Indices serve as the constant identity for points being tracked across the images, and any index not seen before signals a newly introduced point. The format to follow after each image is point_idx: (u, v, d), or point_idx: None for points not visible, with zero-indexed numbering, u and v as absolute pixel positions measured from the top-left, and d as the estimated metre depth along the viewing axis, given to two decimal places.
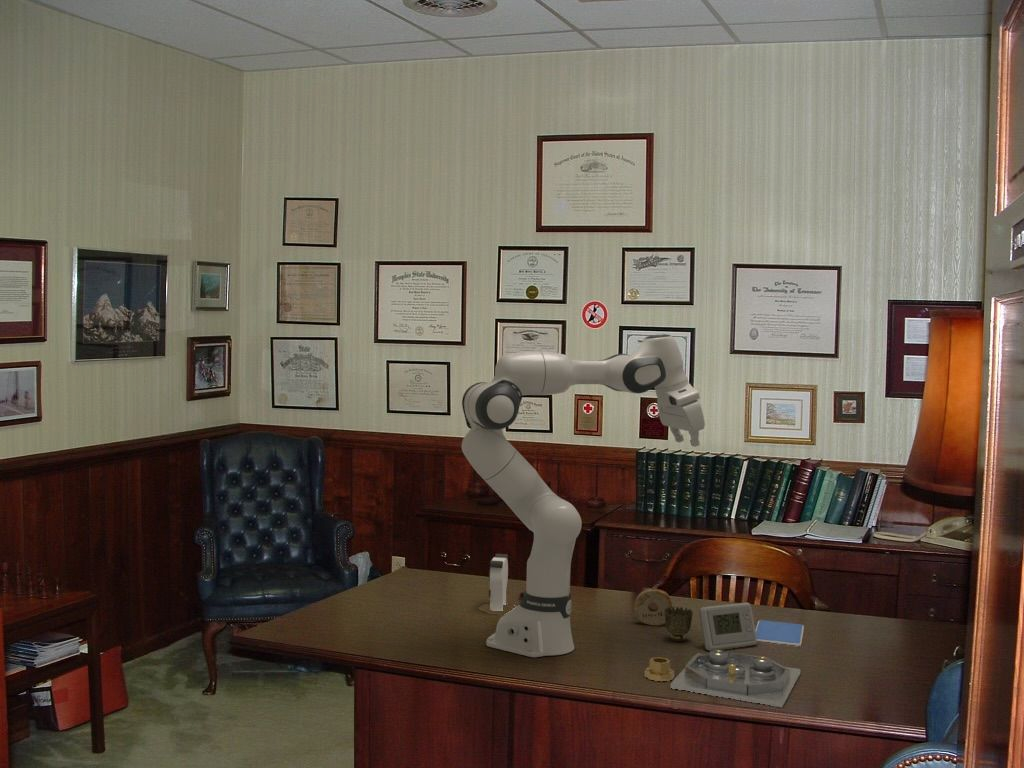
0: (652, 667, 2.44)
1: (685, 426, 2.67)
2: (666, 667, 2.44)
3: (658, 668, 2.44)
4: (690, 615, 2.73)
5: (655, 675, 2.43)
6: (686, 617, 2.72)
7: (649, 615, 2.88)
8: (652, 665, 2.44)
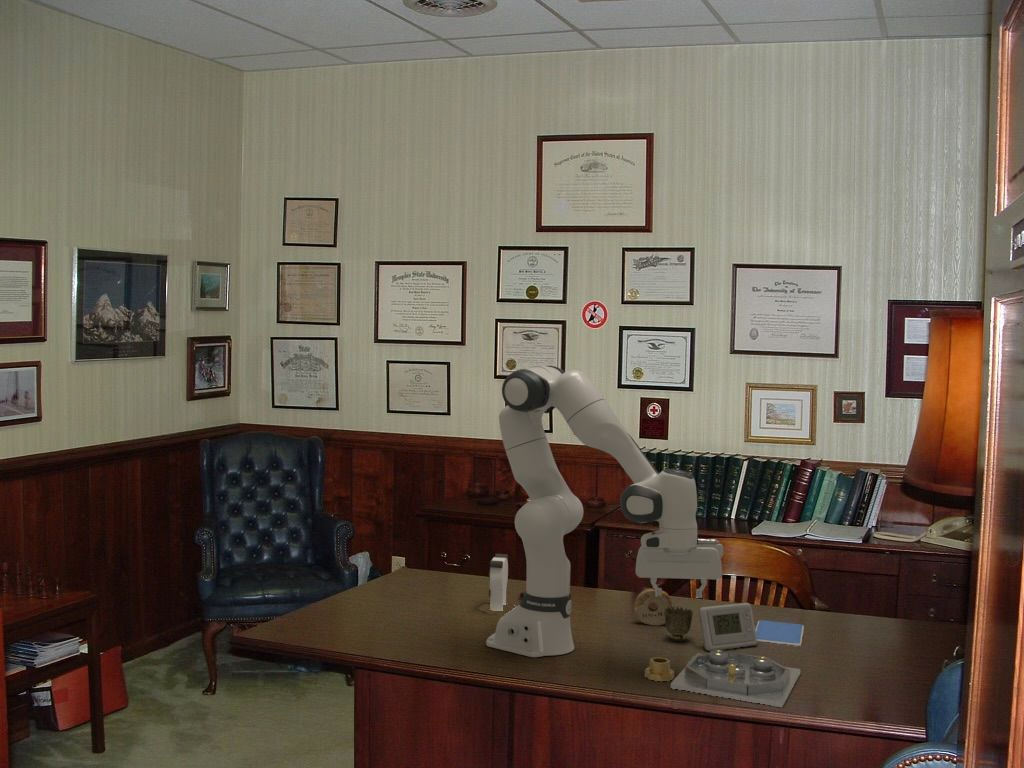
0: (652, 667, 2.44)
1: None
2: (666, 667, 2.44)
3: (658, 668, 2.44)
4: (690, 615, 2.73)
5: (655, 675, 2.43)
6: (686, 617, 2.72)
7: (649, 615, 2.88)
8: (652, 665, 2.44)
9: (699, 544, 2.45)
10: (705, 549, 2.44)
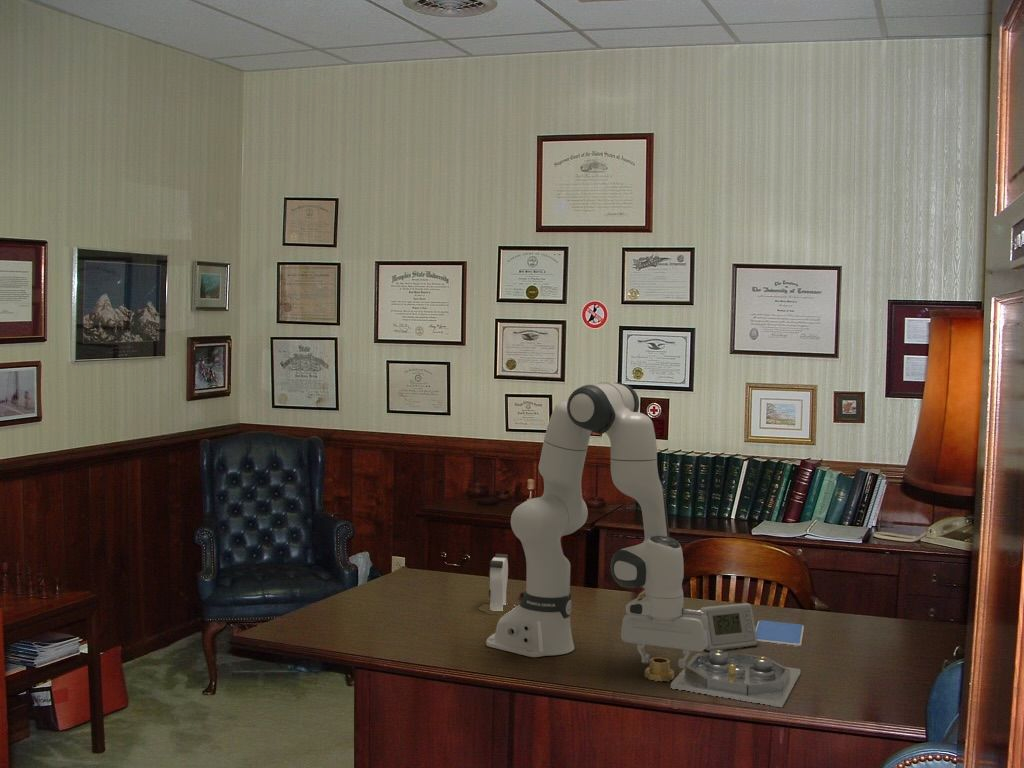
0: (652, 667, 2.44)
1: None
2: (666, 667, 2.44)
3: (658, 668, 2.44)
4: None
5: (655, 675, 2.43)
6: None
7: None
8: (652, 665, 2.44)
9: (684, 614, 2.43)
10: (688, 620, 2.41)
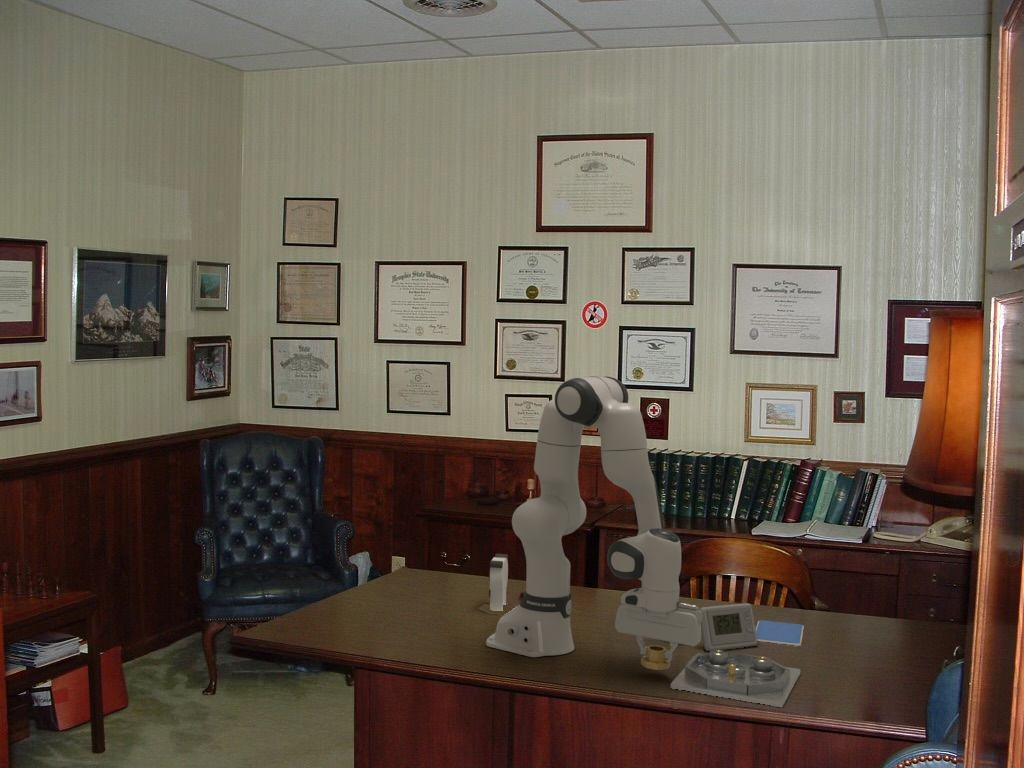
0: (648, 655, 2.45)
1: None
2: (662, 655, 2.44)
3: (655, 656, 2.44)
4: None
5: (651, 663, 2.43)
6: None
7: None
8: (649, 653, 2.44)
9: (679, 608, 2.43)
10: (682, 614, 2.41)
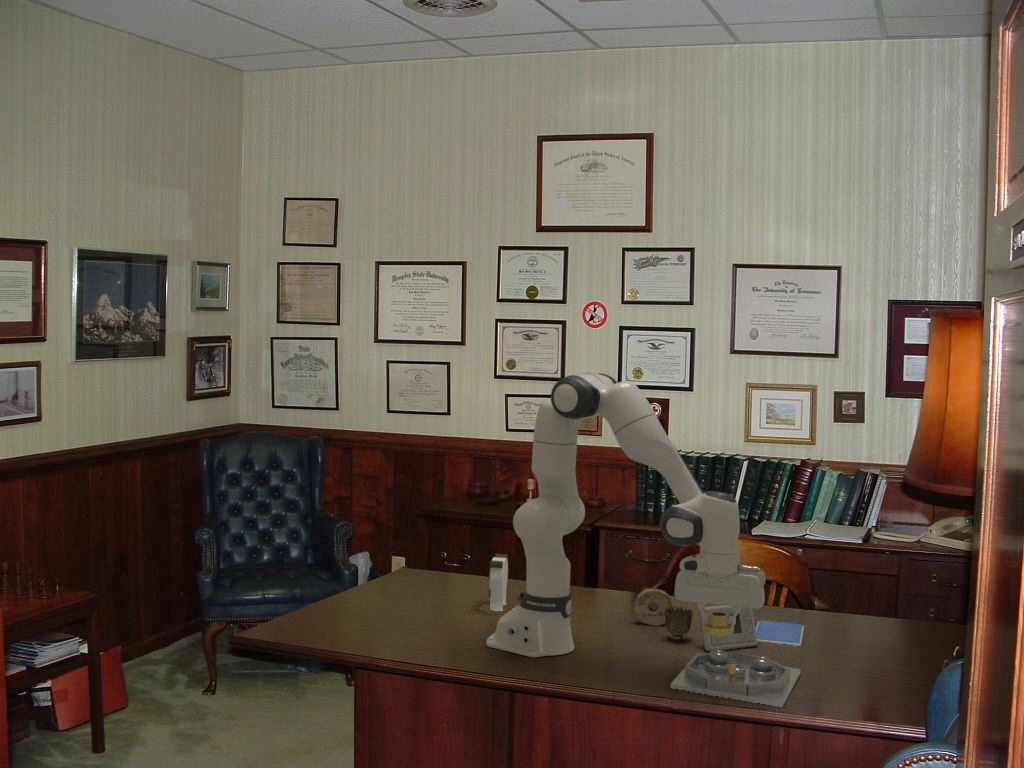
0: (711, 621, 2.38)
1: None
2: (726, 620, 2.37)
3: (718, 621, 2.37)
4: (690, 615, 2.73)
5: (715, 629, 2.36)
6: (686, 617, 2.72)
7: (649, 615, 2.88)
8: (711, 619, 2.38)
9: (740, 571, 2.36)
10: (744, 577, 2.35)
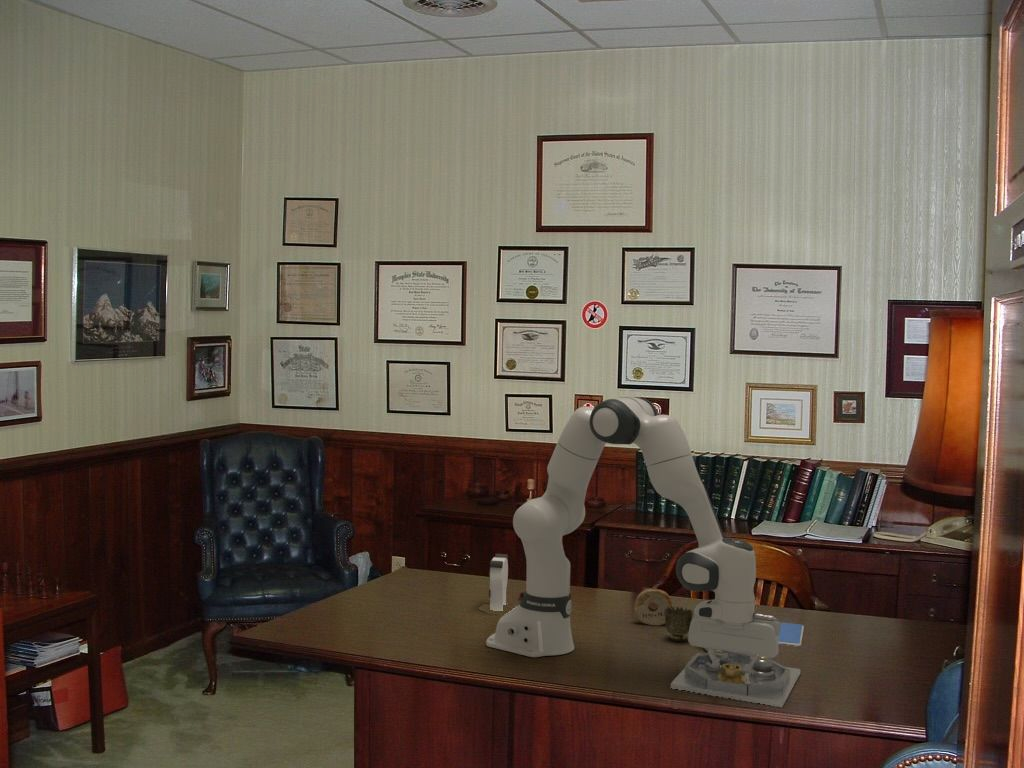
0: (724, 674, 2.37)
1: None
2: (739, 674, 2.37)
3: (731, 674, 2.37)
4: (690, 615, 2.73)
5: None
6: (686, 617, 2.72)
7: (649, 615, 2.88)
8: (724, 672, 2.37)
9: (755, 619, 2.36)
10: (759, 625, 2.34)
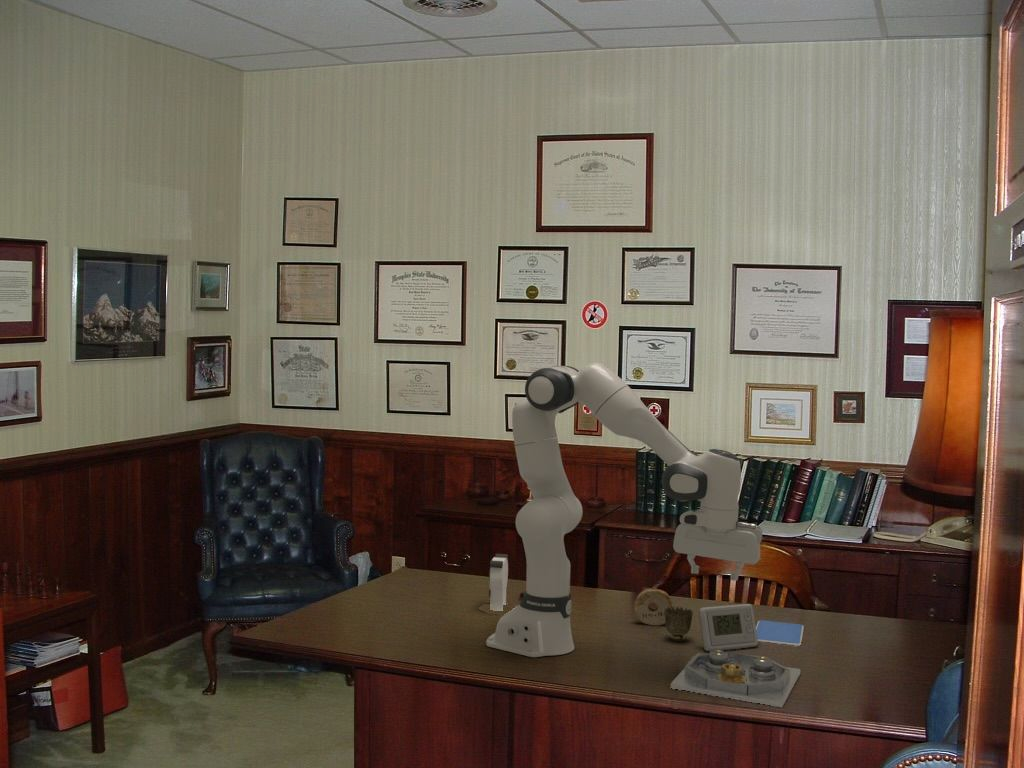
0: (724, 674, 2.37)
1: None
2: (739, 674, 2.37)
3: (731, 674, 2.37)
4: (690, 615, 2.73)
5: None
6: (686, 617, 2.72)
7: (649, 615, 2.88)
8: (724, 672, 2.37)
9: (738, 527, 2.44)
10: (742, 533, 2.42)
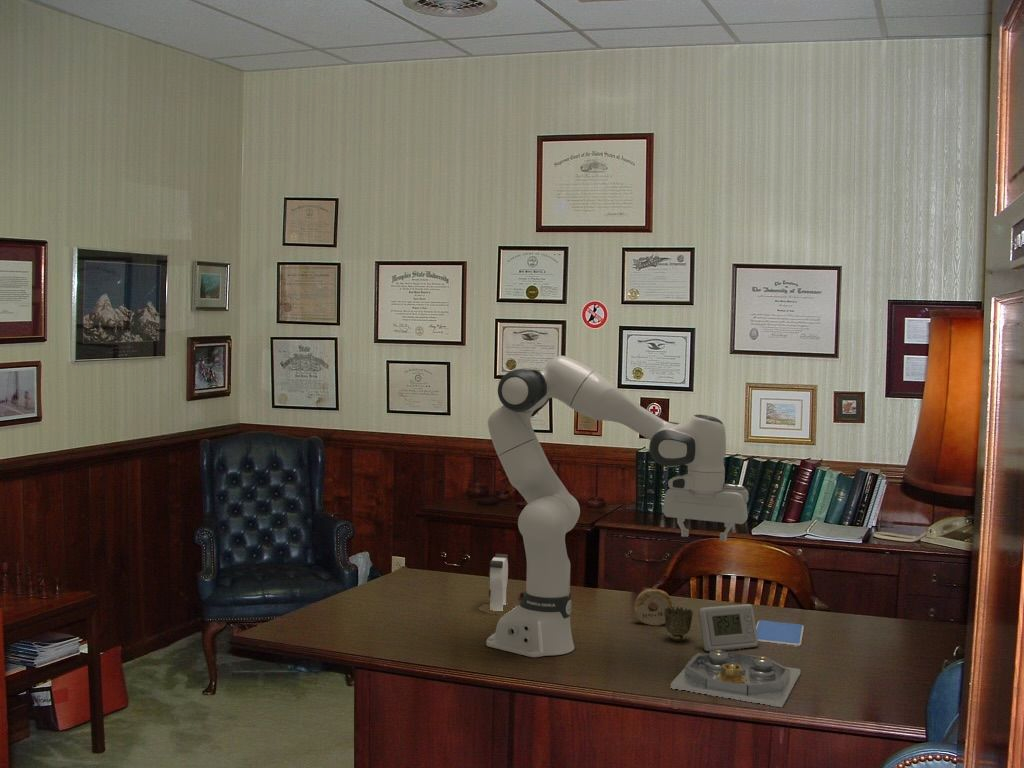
0: (724, 674, 2.37)
1: None
2: (739, 674, 2.37)
3: (731, 674, 2.37)
4: (690, 615, 2.73)
5: None
6: (686, 617, 2.72)
7: (649, 615, 2.88)
8: (724, 672, 2.37)
9: (725, 489, 2.51)
10: (729, 494, 2.50)
